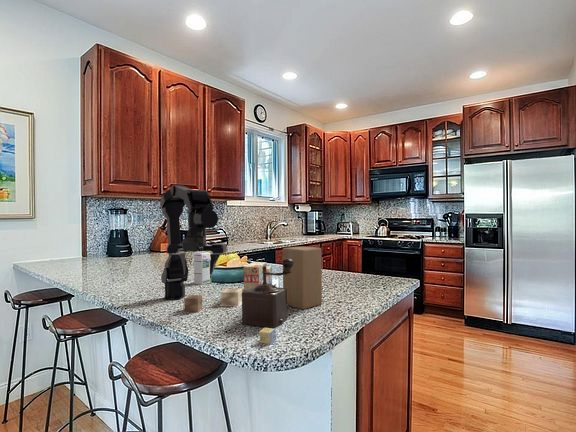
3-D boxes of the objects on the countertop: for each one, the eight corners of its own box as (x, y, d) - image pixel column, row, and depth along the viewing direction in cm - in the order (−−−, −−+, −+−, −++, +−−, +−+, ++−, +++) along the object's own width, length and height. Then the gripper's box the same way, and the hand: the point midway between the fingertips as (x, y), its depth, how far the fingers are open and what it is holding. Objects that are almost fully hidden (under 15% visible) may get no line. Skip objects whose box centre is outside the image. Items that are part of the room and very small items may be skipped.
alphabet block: (270, 345, 82) (270, 332, 82) (259, 343, 83) (259, 330, 83) (276, 340, 85) (276, 328, 85) (265, 338, 86) (265, 327, 86)
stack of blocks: (258, 286, 151) (258, 259, 151) (272, 287, 150) (272, 259, 150) (243, 298, 130) (243, 266, 130) (259, 298, 129) (259, 266, 129)
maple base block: (221, 305, 117) (221, 292, 117) (226, 300, 123) (226, 288, 123) (238, 305, 117) (238, 292, 117) (242, 301, 123) (242, 288, 123)
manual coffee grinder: (275, 329, 93) (274, 264, 93) (240, 324, 97) (240, 262, 97) (296, 314, 107) (296, 257, 107) (265, 311, 111) (265, 256, 111)
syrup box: (202, 284, 155) (202, 253, 155) (193, 283, 159) (193, 252, 159) (211, 282, 160) (211, 252, 160) (202, 281, 163) (202, 251, 163)
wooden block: (301, 299, 126) (301, 246, 126) (322, 304, 119) (322, 247, 119) (282, 304, 119) (282, 248, 119) (303, 310, 112) (302, 249, 112)
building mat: (202, 310, 112) (202, 309, 112) (215, 299, 127) (215, 298, 127) (240, 311, 111) (240, 309, 111) (249, 300, 126) (249, 298, 126)
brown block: (184, 313, 109) (184, 298, 109) (189, 310, 113) (188, 295, 113) (198, 313, 109) (198, 298, 109) (202, 310, 113) (202, 295, 113)
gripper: (159, 228, 104) (159, 278, 104) (218, 228, 104) (219, 278, 103) (173, 227, 116) (173, 273, 115) (227, 227, 115) (227, 272, 115)
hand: (197, 274), depth 112 cm, fingers open, 9 cm apart
